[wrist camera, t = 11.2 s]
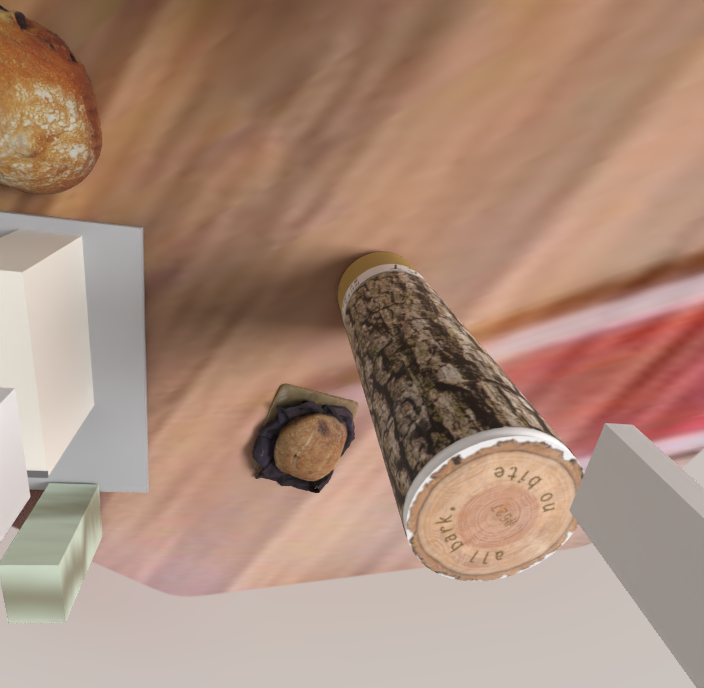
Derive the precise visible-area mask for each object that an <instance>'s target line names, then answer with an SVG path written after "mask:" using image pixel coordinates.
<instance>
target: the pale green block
mask: <svg viewBox="0 0 704 688" xmlns="http://www.w3.org/2000/svg"><path fill="white" fill-rule="evenodd" d="M101 538H102V523H101V510H100V496H99V485H97V484H63V483H49V484H48V486H47V487H46V489H45V491H44V492H43V494H42V495H41V497H40V498H39V500H38V502H37V503H36V505H35V506H34V508H33V510H32V511H31V513H30V514H29V516H28V518H27V519H26V521H25V522H24V524H23V525H22V527H21V529H20V530H19V532H18V533H17V535H16V537H15V538H14V540H13V541H12V543H11V545H10V546H9V548H8V549H7V551H6V553H5V554H4V556H3V557H2V559H1V560H0V581H1V586H2V591H3V596H4V602H5V607H6V612H7V618H8V623H34V622H35V623H41V622H66V620H67V618H68V615H69V613H70V611H71V609H72V606H73V603H74V601H75V599H76V597H77V595H78V592H79V589H80V587H81V585H82V583H83V580H84V578H85V576H86V573H87V571H88V569H89V566H90V564H91V562H92V559H93V557H94V555H95V552H96V550H97V548H98V545H99V543H100V540H101Z"/></svg>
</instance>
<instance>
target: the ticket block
mask: <svg viewBox="0 0 704 688" xmlns="http://www.w3.org/2000/svg"><path fill="white" fill-rule="evenodd" d="M0 387H2V388H15V393H16V400H17V407H18V414H19V421H20V428H21V435H22V442H23V449H24V455H25V462H26V469H27V476H28V483H29V490H45V489H46V487H47V486H48V484H49V483H63V484H97V485H99V491H102V492H139V493H148V490H149V468H148V424H147V380H146V337H145V293H144V249H143V227H139V226H130V225H122V224H113V223H104V222H95V221H87V220H78V219H69V218H60V217H52V216H43V215H34V214H25V213H17V212H8V211H0Z"/></svg>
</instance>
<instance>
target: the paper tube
mask: <svg viewBox="0 0 704 688" xmlns="http://www.w3.org/2000/svg"><path fill="white" fill-rule="evenodd" d="M338 303H339V307H340V310H341V313H342V317H343V321H344V325H345V328H346V332H347V335H348V339H349V342H350V345H351V349H352V352H353V356H354V359H355V363H356V366H357V369H358V373H359V376H360V380H361V383H362V387H363V390H364V393H365V397H366V400H367V404H368V407H369V411H370V414H371V417H372V421H373V424H374V428H375V431H376V435H377V438H378V441H379V445H380V448H381V452H382V455H383V459H384V462H385V465H386V469H387V472H388V476H389V479H390V483H391V486H392V489H393V493H394V496H395V500H396V503H397V507H398V510H399V513H400V517H401V520H402V524H403V527H404V530H405V534H406V536H407V538H408V541H409V544H410V547H411V549H412V551H413V552H414V554H415V555H416V557H417V558H418V559H419V560H420V561H421V562H422V563H423V564H424V565H425V566H426V567H428V568H429V569H431V570H433V571H434V572H436V573H438V574H440V575H443V576H445V577H449V578H452V579H457V580H463V581H488V580H494V579H500V578H504V577H508V576H511V575H514V574H517V573H519V572H522V571H524V570H527V569H529V568H531V567H533V566H534V565H536V564H538V563H540V562H541V561H543V560H545V559H546V558H547V557H549V556H550V555H551V554H553V553H554V552H555V551H556V550H557V549H559V548H560V547H561V546H562V545H563V544H564V543H565V542H566V541H567V540H568V538H569V537H570V536H571V535H572V533H573V532H574V530H575V529H576V528H577V526H578V524H579V523H578V522H577V521H576V519H575V518H574V516H573V515H572V514H571V512H570V511H569V510H570V507H571V505H572V502H573V500H574V497H575V495H576V493H577V490H578V488H579V485H580V483H581V481H582V478H583V476H584V470H583V468H582V466H581V465H580V463H579V462H578V460H577V459H576V458H575V457H574V455H573V453H572V452H571V451H570V450H569V448H568V447H567V446H566V445H565V444H564V442H563V441H562V440H561V439H560V438H559V437H558V435H557V434H556V433H555V432H554V431H553V429H552V428H551V427H550V426H549V425H548V424H547V422H546V421H545V420H544V419H543V418H542V417H541V415H540V414H539V413H538V412H537V411H536V410H535V408H534V407H533V406H532V405H531V404H530V402H529V401H528V400H527V399H526V398H525V397H524V395H523V394H522V393H521V392H520V391H519V390H518V388H517V387H516V386H515V385H514V384H513V382H512V381H511V380H510V379H509V378H508V377H507V375H506V374H505V373H504V372H503V371H502V370H501V368H500V367H499V366H498V365H497V364H496V363H495V361H494V360H493V359H492V358H491V357H490V355H489V354H488V353H487V352H486V351H485V350H484V348H483V347H482V346H481V345H480V344H479V343H478V341H477V340H476V339H475V338H474V337H473V336H472V334H471V333H470V332H469V331H468V330H467V328H466V327H465V326H464V325H463V324H462V323H461V321H460V320H459V319H458V318H457V317H456V316H455V314H454V313H453V312H452V311H451V310H450V308H449V307H448V306H447V305H446V304H445V303H444V301H443V300H442V299H441V298H440V297H439V296H438V294H437V293H436V292H435V291H434V290H433V289H432V287H431V286H430V285H429V284H428V283H427V281H426V280H425V279H424V278H423V277H422V276H421V275H420V274H419V273H418V271H417V270H416V269H415V268H414V267H413V266H412V264H411V263H410V262H408V261H407V260H406V259H404V258H403V257H401V256H399V255H396V254H393V253H389V252H375V253H370V254H367V255H365V256H362V257H361V258H359V259H357V260H356V261H354V262H353V263H352V264H351V265H350V266H349V267H348V268H347V270H346V271H345V272H344V274H343V276H342V278H341V280H340V283H339V288H338Z"/></svg>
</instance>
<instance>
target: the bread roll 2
mask: <svg viewBox="0 0 704 688" xmlns="http://www.w3.org/2000/svg"><path fill="white" fill-rule="evenodd" d="M357 412H358V403H357V402H355V401H353V400H347V399H343V398H340V397H336V396H332V395H328V394H326V393H321V392H317V391H313V390H309V389H306V388H302V387H298V386H294V385H290V384H283V385H281V387H280V388H279V391H278V392H277V394H276V396H275V399H274V402H273V404H272V406H271V408H270V411H269V413H268V415H267V418H266V420H265V423H264V425H263V426H262V428H261V429H260V431H259V435H258V437H257V439H256V442H255V445H254V449H253V451H252V452H253V458H254V461H253V462H254V463H253V468H254V469H257V467H259V468H260V469H261V471H260V472H259V473H258V474H255V475H256V477H255V478H256V479H258V478H265V479H270V480H273V481H277V482H278V483H279V484H280V485H281V486H293V487H295V488H298V489H302V490H306V491H310V492H314V493H319V492H320V491H321V490H322V488H323V487H324V486H325V485H326V484H327V483H328V482H329V480H330V478H331V476H332V474H333V471H334V468H335V466H336V465H337V464H338V462H339V459H340V457H341V456H342V455H343V454H344V452H345V450H346V449H347V448H348V447H349V446H350V443H351V441H352V440H354V438H355V437H354V435H355V434H354V424H353V423H354V418H355V416H356V413H357ZM317 486H318V487H317Z"/></svg>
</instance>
